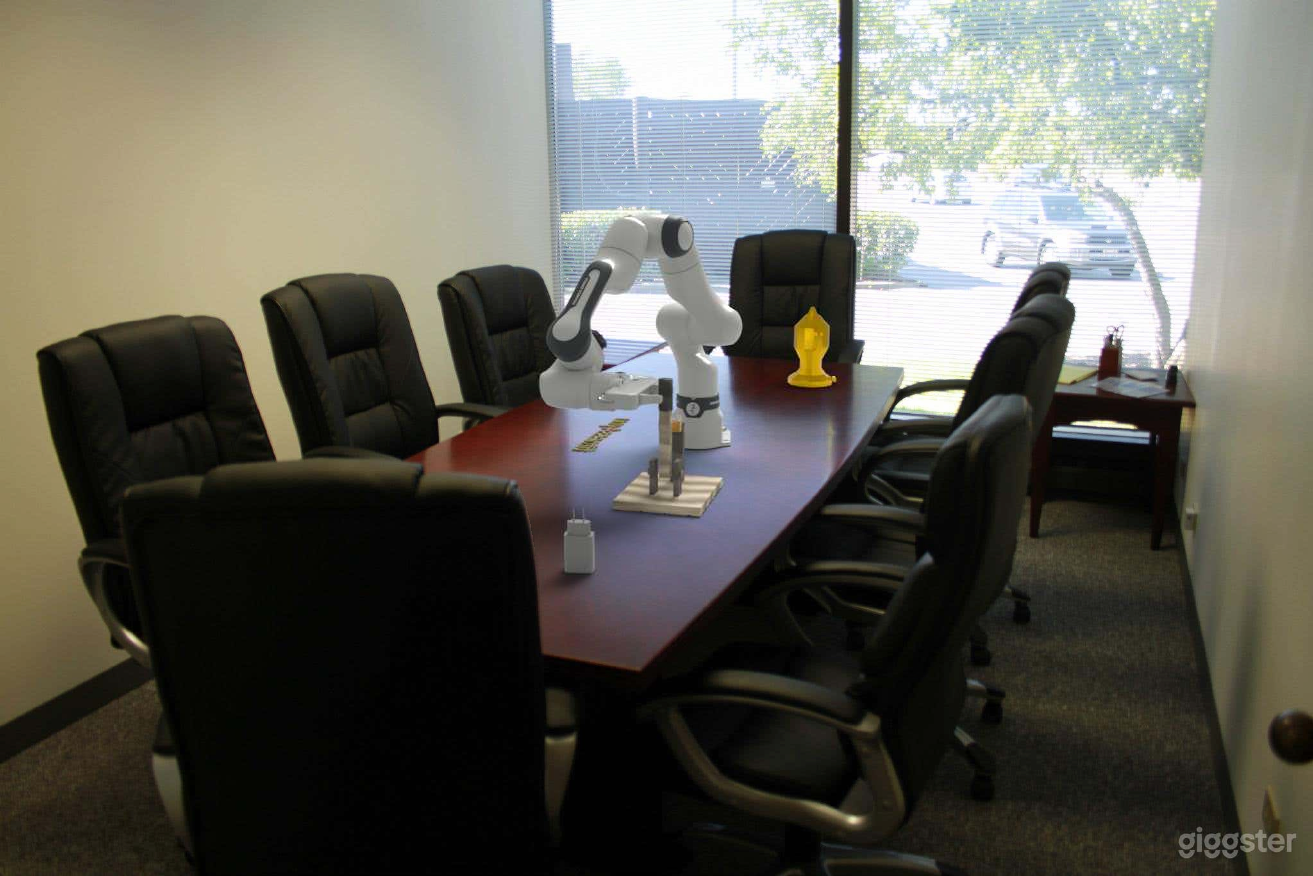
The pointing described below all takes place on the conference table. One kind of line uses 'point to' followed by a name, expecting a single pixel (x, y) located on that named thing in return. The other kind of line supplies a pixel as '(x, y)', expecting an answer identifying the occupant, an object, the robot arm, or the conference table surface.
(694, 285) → the robot arm
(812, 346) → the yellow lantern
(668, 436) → the lever
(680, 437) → the frame
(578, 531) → the power adapter
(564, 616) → the conference table surface
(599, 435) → the text sign
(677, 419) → the pin
